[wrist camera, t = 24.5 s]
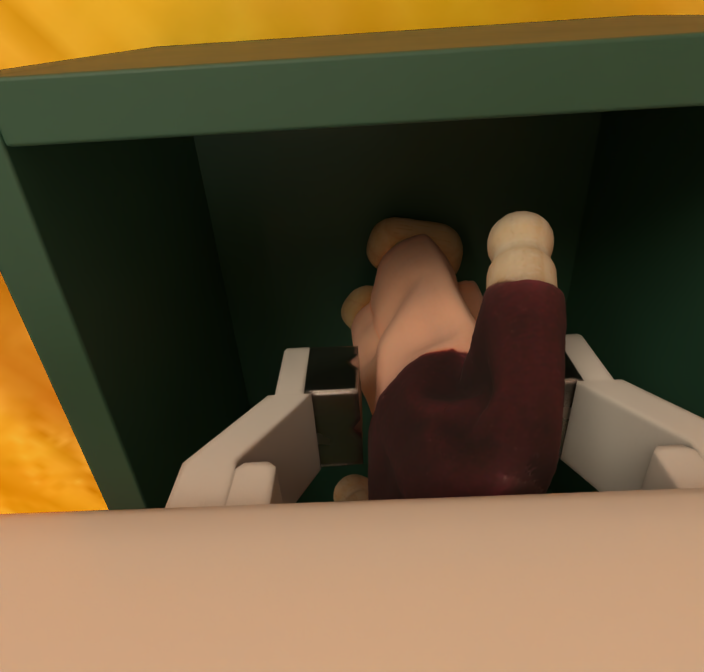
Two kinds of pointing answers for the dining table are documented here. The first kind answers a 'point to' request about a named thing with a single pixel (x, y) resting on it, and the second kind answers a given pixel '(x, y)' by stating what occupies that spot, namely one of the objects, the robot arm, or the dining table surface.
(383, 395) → the grandmother figurine
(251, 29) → the dining table surface
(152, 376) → the toy box
